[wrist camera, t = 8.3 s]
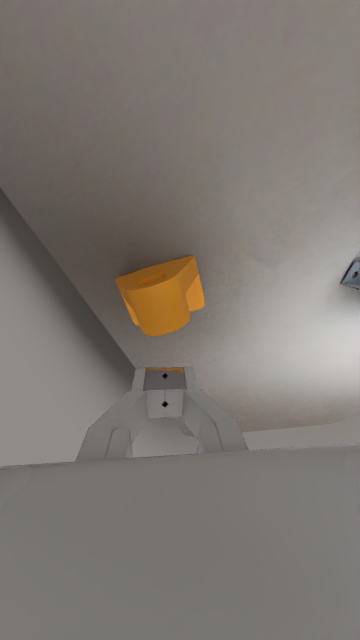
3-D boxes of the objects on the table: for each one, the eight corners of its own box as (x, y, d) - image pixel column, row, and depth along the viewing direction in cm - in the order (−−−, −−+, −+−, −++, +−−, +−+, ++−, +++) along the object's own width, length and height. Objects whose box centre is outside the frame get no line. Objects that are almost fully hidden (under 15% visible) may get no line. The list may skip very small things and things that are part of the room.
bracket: (137, 319, 29) (122, 369, 18) (119, 275, 26) (88, 304, 15) (202, 301, 29) (226, 341, 18) (192, 254, 25) (213, 268, 15)
